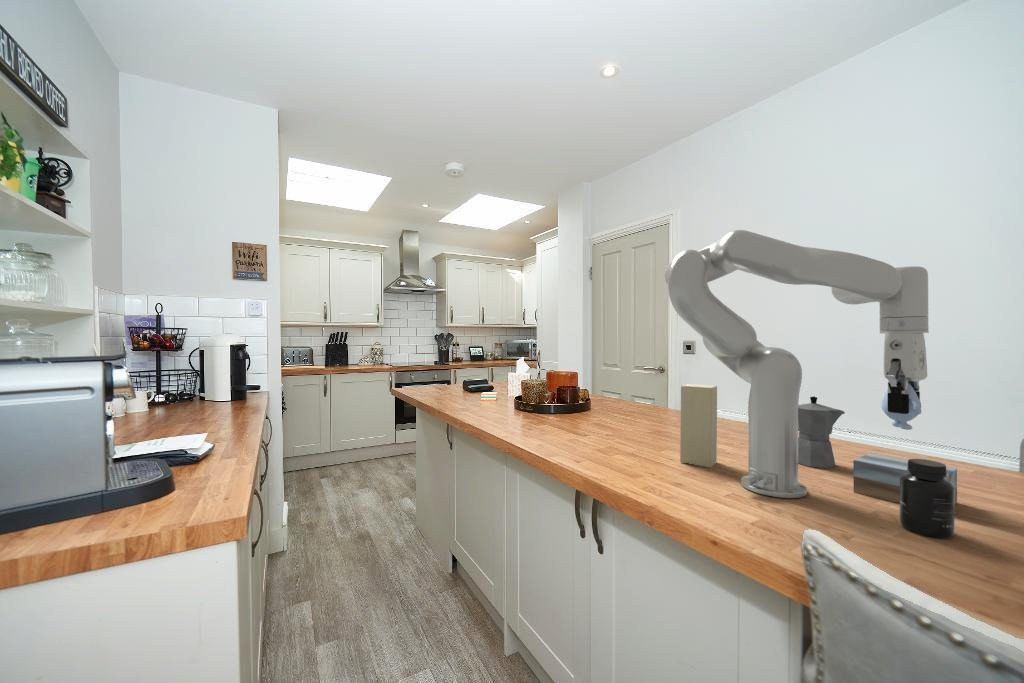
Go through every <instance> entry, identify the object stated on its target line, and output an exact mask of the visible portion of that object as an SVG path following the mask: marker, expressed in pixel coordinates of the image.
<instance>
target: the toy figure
mask: <svg viewBox="0 0 1024 683" xmlns="http://www.w3.org/2000/svg"><path fill="white" fill-rule="evenodd" d="M902 379H904V378H902ZM902 385H903V383H902ZM907 394H909V413H908V414H901V413H892V412H888V387H887V388H886V390H885V392H884V394H883V396H882V398H881V402H880V404H881V410H882V411H883V413H884V414H885V415H886V416H887V417H888V418H890V419H891V420H893V421H892V422H891V425H892V426H893V427H895V428H900V429H902V430H906V431H907V430H912V429H913V426H912V425H911V424H909V423H907V422H909V421H912V420H914V419H915V418H917V417H918V415H921V414H922V402H921V399H920V400H919V398H918V396H917V394H916V392H915V390H914V389H913V387H912V386H911V385H910V384H909V383H908V387H907Z"/></svg>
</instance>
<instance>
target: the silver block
mask: <svg viewBox="0 0 1024 683" xmlns="http://www.w3.org/2000/svg"><path fill="white" fill-rule="evenodd" d="M908 460H909V459H906V458H900V457H895V456H894V457H893V456H890V455H889V456H888V455H883V454H878V453H872V452H869V453H867V454H864V455H862V456H859V457H858V458H855V459H853V493H855V492H856V494H860V495H863V496H867V497H872V498H875V497H876V499H880V500H885V501H887V502H893V503H895V504H900V478H901V477H902V476H903V475H904V474H907V473H909V471H908V470H907V467H908ZM946 473H947V477H945V479H946V480H948V481H949V482H950V483H951V484H952V485H953V486H954V489H955V505H957V503H958V467H953V466H952V467H951V466H946Z"/></svg>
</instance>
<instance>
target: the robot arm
mask: <svg viewBox="0 0 1024 683" xmlns="http://www.w3.org/2000/svg"><path fill="white" fill-rule="evenodd" d="M665 268H666V269H665V272H664V279H665V280H664V281H665V283H666V284H667V287H668V295H669V296H668V297H669V299H670V303H671V305H672V307H673V309H674V310H675V312H676V313H677V315H678V316H679V317H680V318H681V319H682V320H683V321H684V322H685V323H686V324H688V325H689V327H691V328H692V329H693V330H694V331H695V332H696V333H697V334H699V335H700V336H701V337H702V342H703V345H704V347H705V348H706V350H707V351H708V352H709V353H710V354H711V355H712V356H714V357H715V358H716V359H717V360H718V361H719V362H721V363H722V364H723V365H724V366H725V367H727V368H728V369H729V370H731V371H732V372H733V373H734V374H735V375H736V376H738V377H739V378H740V379H742V380H743V381H745V383H747V384H750V390H749V394H748V396H749V397H748V402H747V404H748V407H747V416H748V417H747V418H748V419H747V421H748V423H747V424H748V425H747V426H748V427H747V429H748V432H747V433H748V435H747V437H748V438H747V439H748V440H747V441H748V442H747V444H748V450H747V451H748V454H747V455H748V467H747V468H748V474H746V475H744V476H742V477H741V478H740V484H741V486H742V487H743V488H744V489H747V490H749V491H751V492H754V493H756V494H760V495H763V496H764V495H765V496H768V497H775V498H781V499H797V498H798V499H799V498H802V497H803V498H804V497H805V496H807V494H808V488H807V486H806V485H804V484H803V483H802V482H799V464H798V437H799V431H798V405H799V398H800V392H801V386H802V379H803V370H802V365H801V363H800V360H799V359H798V357H796V356H795V355H794V354H793V353H792V352H790V351H788V350H787V349H784V348H780V347H773V346H771V347H769V346H765V345H764V344H763V343H761V342H760V341H759V340H758V339H757V338H758V337H757V332H756V330H755V328H754V327H753V326H752V324H750V323H749V322H748V321H747V320H746V319H745V318H742V317H741V316H739V315H738V314H737V312H735V311H733V310H732V309H731V308H730V307H728V306H727V305H726V304H724V303H723V302H722V301H721V300H720V299H719V298H718V297H717V296H716V295H715V294H714V293H713V292H712V291H711V289H710V287H709V283H710V282H713V281H715V280H718V279H720V278H722V277H724V276H727V275H729V274H731V273H734V272H736V271H738V270H739V271H742V272H745V273H748V274H752V275H755V276H758V277H762V278H765V279H768V280H770V281H774V282H777V283H780V284H784V285H785V284H786V285H793V286H795V285H796V286H797V285H804V286H805V285H812V286H813V285H814V286H815V285H816V286H822V287H830V288H831V294H832V295H833V297H834V299H835V300H837V301H838V302H841V303H842V304H846V305H862V304H863V305H864V304H869V303H876V302H877V303H878V304H879V334H884V342H883V344H884V345H883V375H884V378H885V379H886V380H887V381H888V382H887V388H888V412H892V413H901V414H908V413H909V394H907V387H908V383H909V384H910V385H911V386H912V387H913V389H914V390H915V392H916V394H917V396H918V398H919V400H920V401H921V396H920V395H921V393H920V381H923V380H925V379H927V377H928V363H927V362H928V361H927V350H926V349H927V348H926V347H927V346H926V340H925V334H929V272H928V270H927V269H926V268H925V267H923V266H900V267H894V266H893V265H891V264H889V263H886V262H885V261H881V260H878V259H875V258H871V257H868V256H865V255H860V254H856V253H852V252H847V251H841V250H831V249H824V248H817V247H810V246H803V245H798V244H793V243H791V242H787V241H784V240H780V239H777V238H773V237H770V236H766V235H763V234H759V233H756V232H754V231H753V232H752V231H748V230H745V229H735V230H732V231H729V232H728V233H725V235H723V236H722V237H721V238H720V239H719V240H718V241H716V242H715V243H712V244H710V245H708V246H705V247H704V248H702V249H700V250H695V249H685V250H682V251H680V252H679V253H677V254H676V255H674V257H673V258H672V259H671V261H670V262H669V263H668V264H667V266H666V267H665ZM902 378H904V379H902ZM902 383H903V385H902Z"/></svg>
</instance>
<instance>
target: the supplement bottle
mask: <svg viewBox="0 0 1024 683" xmlns="http://www.w3.org/2000/svg"><path fill="white" fill-rule="evenodd" d="M907 460H908V467H907V470H908V471H909V473H907V474H904V475H903V476H902V477H901V478H900V503H899V522H900V526H902V527H903V528H904V529H905V530H907V531H910V532H912V533H914V534H916V533H917V535H919V534H920V535H919V536H923V537H928V538H934V539H941V540H946V539H951V538H953V536H954V534H955V509H956V508H955V507H956V506H955V505H956V504H955V489H954V486H953V485H952V484H951V483H950V482H949V481H948V480H946V479H945V477H947V473H946V467H947V465H946V464H945V463H943V462H941V461H940V462H939V461H935V460H931V459H922V458H909V459H907Z"/></svg>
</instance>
